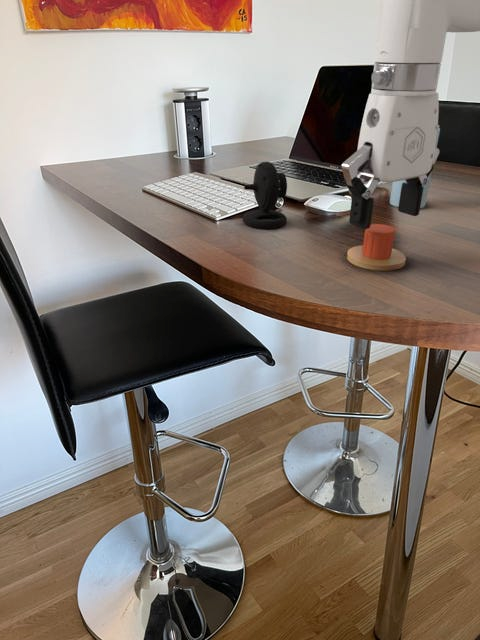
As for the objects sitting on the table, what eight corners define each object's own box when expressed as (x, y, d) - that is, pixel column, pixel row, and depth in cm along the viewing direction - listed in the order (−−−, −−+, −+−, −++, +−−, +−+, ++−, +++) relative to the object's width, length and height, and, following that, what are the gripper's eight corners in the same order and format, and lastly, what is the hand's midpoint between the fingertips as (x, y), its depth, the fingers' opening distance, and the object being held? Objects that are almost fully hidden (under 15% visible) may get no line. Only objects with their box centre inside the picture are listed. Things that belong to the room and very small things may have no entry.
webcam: (293, 228, 82) (298, 165, 77) (250, 231, 80) (252, 167, 75) (277, 214, 89) (280, 156, 84) (236, 217, 87) (237, 158, 82)
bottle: (404, 198, 101) (422, 92, 91) (432, 205, 96) (454, 95, 87) (382, 202, 97) (399, 93, 88) (410, 210, 93) (431, 96, 83)
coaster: (373, 246, 75) (374, 241, 75) (417, 263, 69) (418, 257, 69) (335, 256, 71) (335, 251, 71) (378, 275, 65) (378, 269, 65)
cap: (377, 261, 67) (381, 234, 66) (356, 252, 70) (359, 226, 68) (396, 256, 69) (401, 229, 68) (375, 247, 72) (379, 222, 70)
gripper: (379, 85, 52) (360, 240, 61) (475, 79, 61) (447, 215, 69) (329, 81, 58) (318, 224, 66) (424, 76, 66) (404, 203, 75)
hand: (384, 219), depth 68 cm, fingers open, 9 cm apart
